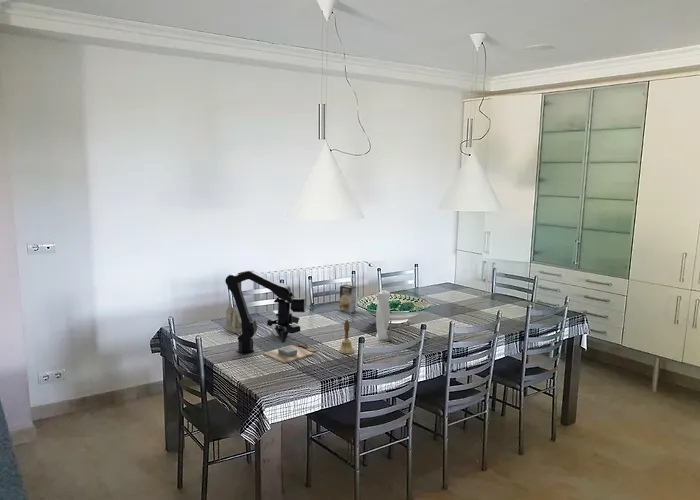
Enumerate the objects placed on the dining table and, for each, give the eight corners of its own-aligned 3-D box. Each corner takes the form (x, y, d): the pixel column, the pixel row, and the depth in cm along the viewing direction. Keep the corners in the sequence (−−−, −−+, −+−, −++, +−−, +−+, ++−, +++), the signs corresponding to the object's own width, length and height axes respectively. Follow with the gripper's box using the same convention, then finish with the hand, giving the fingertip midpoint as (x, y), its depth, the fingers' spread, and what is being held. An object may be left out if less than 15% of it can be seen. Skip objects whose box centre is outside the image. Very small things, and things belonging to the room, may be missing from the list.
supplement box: (272, 332, 292) (272, 310, 290) (285, 331, 294) (285, 309, 292) (275, 336, 285) (275, 313, 283) (288, 335, 288) (289, 313, 286)
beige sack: (233, 334, 287) (235, 306, 285) (219, 327, 299) (220, 301, 298) (259, 331, 297) (260, 304, 296) (244, 324, 309) (245, 299, 308)
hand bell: (340, 354, 262) (341, 323, 260) (336, 348, 270) (337, 318, 267) (356, 353, 264) (357, 322, 262) (351, 347, 272) (353, 317, 270)
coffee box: (338, 310, 342) (339, 285, 339) (343, 308, 347) (344, 284, 345) (350, 312, 337) (351, 288, 334) (355, 310, 342) (356, 286, 340)
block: (278, 353, 258) (287, 357, 253) (278, 348, 258) (287, 352, 253) (287, 350, 263) (297, 354, 258) (287, 346, 262) (297, 349, 257)
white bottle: (377, 341, 284) (379, 290, 279) (372, 337, 292) (374, 287, 287) (391, 341, 286) (394, 290, 282) (386, 336, 294) (389, 286, 289)
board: (284, 363, 247) (284, 361, 247) (263, 354, 258) (263, 352, 258) (313, 354, 260) (313, 353, 260) (291, 346, 271) (291, 344, 271)
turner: (312, 352, 263) (312, 350, 263) (296, 345, 272) (296, 344, 272) (317, 350, 266) (317, 349, 266) (300, 344, 274) (300, 342, 274)
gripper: (309, 312, 257) (308, 343, 259) (284, 304, 269) (283, 334, 272) (291, 316, 249) (291, 348, 251) (266, 308, 261) (266, 339, 264)
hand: (283, 342), depth 260 cm, fingers closed
